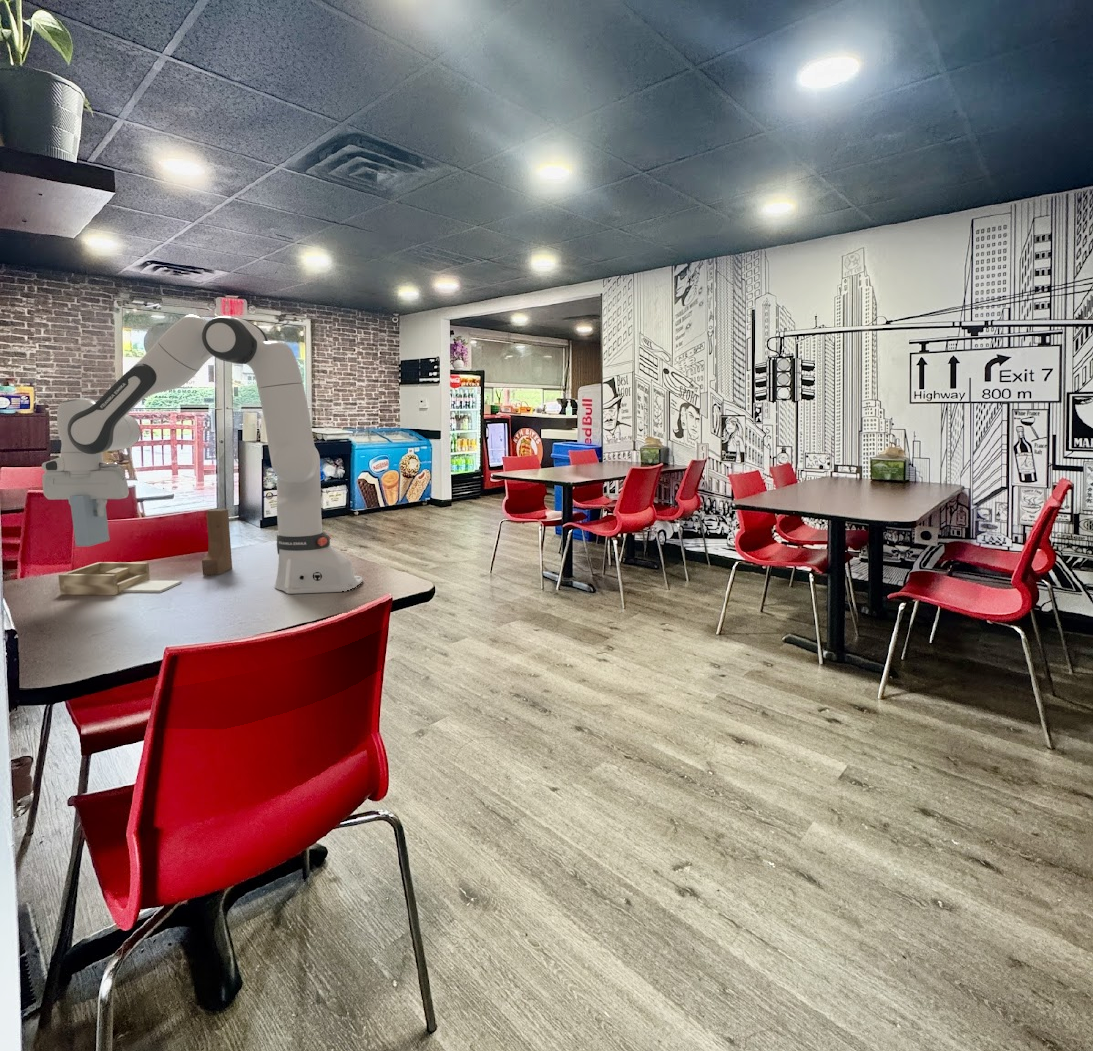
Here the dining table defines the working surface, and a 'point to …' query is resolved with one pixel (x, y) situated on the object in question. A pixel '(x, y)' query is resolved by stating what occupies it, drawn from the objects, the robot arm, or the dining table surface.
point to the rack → (102, 578)
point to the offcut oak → (120, 573)
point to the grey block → (88, 521)
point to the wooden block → (218, 543)
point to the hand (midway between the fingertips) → (89, 516)
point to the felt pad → (152, 586)
